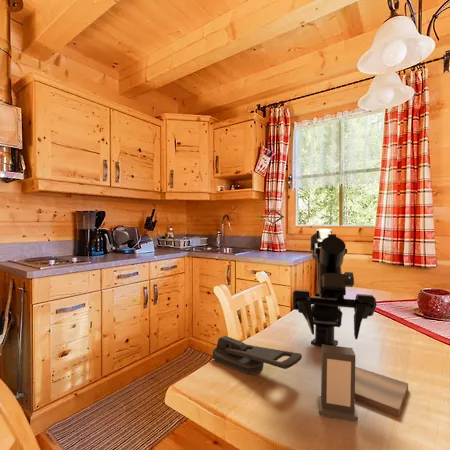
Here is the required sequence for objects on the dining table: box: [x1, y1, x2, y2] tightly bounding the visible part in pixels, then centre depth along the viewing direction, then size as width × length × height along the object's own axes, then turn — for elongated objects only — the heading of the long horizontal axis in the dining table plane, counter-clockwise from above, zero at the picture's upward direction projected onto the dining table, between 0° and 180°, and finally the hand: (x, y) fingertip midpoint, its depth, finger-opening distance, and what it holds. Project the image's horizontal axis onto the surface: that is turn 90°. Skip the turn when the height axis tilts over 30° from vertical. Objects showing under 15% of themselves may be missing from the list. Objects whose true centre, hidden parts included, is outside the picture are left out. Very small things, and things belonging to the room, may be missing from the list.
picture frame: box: [317, 344, 359, 423], centre depth 58 cm, size 5×7×12 cm
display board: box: [355, 366, 409, 418], centre depth 65 cm, size 12×12×2 cm
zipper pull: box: [212, 335, 303, 375], centre depth 75 cm, size 9×7×25 cm
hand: (334, 336), depth 65 cm, fingers open, 9 cm apart
